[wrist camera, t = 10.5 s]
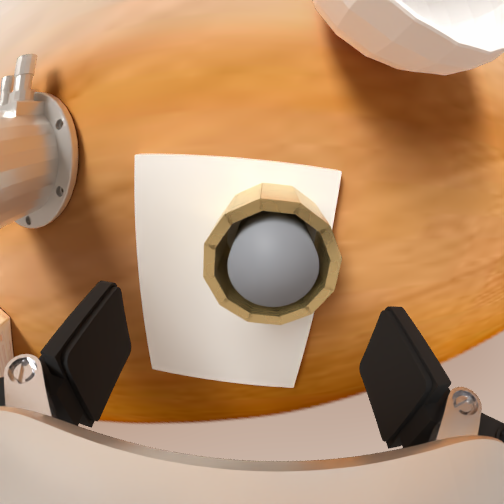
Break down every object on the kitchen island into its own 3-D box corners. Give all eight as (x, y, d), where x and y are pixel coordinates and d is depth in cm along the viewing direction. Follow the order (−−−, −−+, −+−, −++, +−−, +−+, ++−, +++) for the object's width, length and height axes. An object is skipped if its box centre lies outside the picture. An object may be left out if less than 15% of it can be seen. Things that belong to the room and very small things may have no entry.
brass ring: (222, 178, 18) (205, 193, 14) (331, 191, 18) (352, 209, 13) (216, 277, 21) (202, 316, 16) (313, 287, 21) (324, 328, 16)
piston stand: (140, 153, 19) (96, 162, 13) (338, 169, 18) (365, 184, 13) (155, 362, 26) (135, 405, 21) (292, 380, 26) (295, 429, 21)
